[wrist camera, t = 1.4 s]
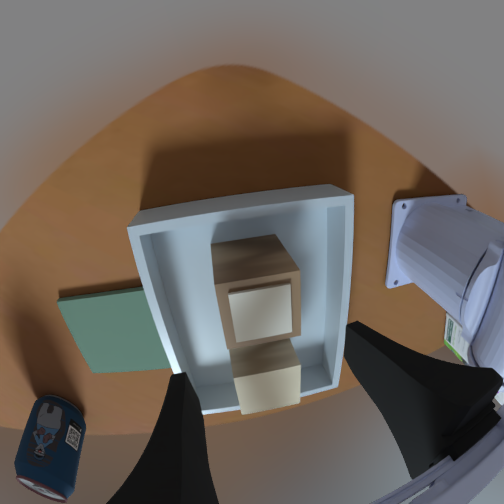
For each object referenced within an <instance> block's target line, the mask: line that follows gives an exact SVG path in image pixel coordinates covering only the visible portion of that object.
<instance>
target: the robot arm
mask: <svg viewBox="0 0 504 504" xmlns="http://www.w3.org/2000/svg"><path fill="white" fill-rule="evenodd" d="M456 200H457V201H456ZM466 202H467V197H466V196H465V195H463V194H456V195H443V196H431V197H419V198H408V199H398V200H395V201H394V203H393V207H392V224H391V237H390V248H389V257H388V266H387V274H386V282H385V285H386V286H387V287H388V288H394V287H397V286H401V285H405V284H408V283H412V282H414V283H415V284H416V285H417V286H419V287H420V288H421V289H422V290H423V291H424V292H426V293H427V294H428V295H429V296H430V297H431V298H432V299H434V300H435V301H436V302H437V303H438V304H439V305H440V306H442V307H443V308H444V309H445V310H446V311H447V312H448V313H449V314H450V315H451V316H453V317H454V318H455V319H456V320H457V321H458V322H459V323H460V324H461V325H462V326H463V330H462V333H461V336H462V337H463V338H464V339H465V340H466V341H467V342H468V343H469V347H468V351H467V358H468V363H469V366H465V365H459V364H454V363H450V362H446V361H441V360H438V359H435V358H432V357H429V356H426V355H423V354H421V353H418V352H416V351H414V350H411V349H409V348H407V347H405V346H403V345H400V344H398V343H396V342H395V341H393V340H391V339H389V338H387V337H385V336H383V335H382V334H380V333H378V332H376V331H374V330H373V329H371V328H369V327H368V326H366V325H364V324H362V323H360V322H359V321H355V322H353V323H350V324H347V325H346V330H345V348H344V357H345V359H346V361H347V363H348V365H349V367H350V369H351V370H352V372H353V374H354V375H355V377H356V378H357V380H358V381H359V382H360V384H361V385H362V386H363V388H364V389H365V391H366V392H367V393H368V395H369V396H370V397H371V399H372V400H373V402H374V403H375V404H376V406H377V407H378V409H379V410H380V412H381V413H382V415H383V417H384V419H385V420H386V422H387V424H388V426H389V428H390V430H391V432H392V434H393V436H394V438H395V440H396V442H397V444H398V446H399V448H400V451H401V453H402V455H403V458H404V460H405V463H406V466H407V468H408V471H409V474H410V477H411V478H412V481H410V482H408V483H407V484H405V485H403V486H402V487H400V488H398V489H396V490H395V491H393V492H391V493H389V494H387V495H385V496H383V497H382V498H380V499H378V500H376V501H374V502H372V503H370V504H399V503H401V502H403V501H405V500H406V499H408V498H410V497H411V496H413V495H415V494H416V493H418V492H419V491H421V490H423V489H424V488H426V487H427V486H429V485H430V484H431V485H430V487H429V489H428V490H426V491H425V492H423V493H422V494H420V495H419V496H417V497H416V498H414V499H413V500H412V501H411V502H410V503H409V504H468V503H469V502H470V501H471V500H472V499H473V498H474V497H475V496H476V495H477V494H479V493H480V492H481V491H482V490H483V489H484V488H485V487H486V486H487V485H488V484H489V483H490V482H491V481H492V480H493V479H494V478H495V477H496V476H497V474H498V473H499V472H500V471H501V470H502V469H503V468H504V404H503V405H502V406H501V407H500V408H499V409H498V411H497V412H496V411H495V410H494V409H493V408H494V407H495V404H494V403H493V402H492V400H493V399H494V397H495V396H496V394H497V393H498V391H499V392H504V223H503V222H500V221H498V220H497V219H494V218H492V217H490V216H488V215H486V214H484V213H482V212H479V211H477V210H475V209H473V208H470V207H468V206H466ZM403 203H404V206H403V208H402V205H403ZM394 282H395V283H394ZM106 504H219V503H218V499H217V495H216V492H215V488H214V485H213V481H212V477H211V473H210V469H209V463H208V455H207V446H206V438H205V428H204V419H203V414H202V410H201V405H200V400H199V398H198V396H197V394H196V392H195V390H194V388H193V386H192V384H191V382H190V380H189V378H188V376H187V373H186V372H182V373H177V374H172V375H171V377H170V381H169V385H168V389H167V393H166V396H165V400H164V403H163V406H162V409H161V412H160V415H159V418H158V420H157V423H156V425H155V428H154V430H153V433H152V435H151V438H150V440H149V442H148V444H147V446H146V448H145V450H144V452H143V454H142V456H141V458H140V459H139V461H138V463H137V464H136V466H135V467H134V469H133V471H132V472H131V474H130V475H129V476H128V478H127V479H126V481H125V482H124V483H123V485H122V486H121V487H120V489H119V490H118V491H117V492H116V493H115V494H114V496H113V497H112V498H111V499H110V500H109V501H108V502H107V503H106Z"/></svg>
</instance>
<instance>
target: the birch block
mask: <svg viewBox="0 0 504 504" xmlns="http://www.w3.org/2000/svg"><path fill="white" fill-rule="evenodd" d="M229 354H230V360H231V366H232V372H233V378H234V383H235V387H236V392H237V396H238V400H239V404H240V409H241V413H242V415H243V414H249V413H254V412H260V411H265V410H270V409H275V408H280V407H284V406H289V405H293V404H297V403H300V384H301V364H300V362H299V359H298V357H297V355H296V352H295V350H294V347H293V345H292V343H291V340H290V338H287V339H282V340H277V341H272V342H267V343H262V344H257V345H251V346H245V347H240V348H234V349H229Z"/></svg>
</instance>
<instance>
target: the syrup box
mask: <svg viewBox="0 0 504 504" xmlns="http://www.w3.org/2000/svg"><path fill="white" fill-rule="evenodd" d="M462 330H463V326H462V325H461V324H460V323H459V322H458V321H457V320H456V319H455V318H454V317H453V316H451V315H450V314H449V313H448V312H447V313H446V326H445V336H444V344H445V345H446V346H447V347H448V348H449V349H451V351H452V352H453V353H454V354H455V355H456V356H457V357H458V358H459V359H460V360H461V361H462V362H463V363H464V364H465V365H466V366H469V363H468V358H467V351H468V347H469V343H468V342H467V341H466V340H465V339H464V338H463V337H462V336H461V333H462ZM495 398H496V400H497V401H498V402H499V403H500V404H501V405H503V404H504V392H499V391H498V393H497V394H496V396H495Z"/></svg>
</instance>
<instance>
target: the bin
mask: <svg viewBox="0 0 504 504" xmlns="http://www.w3.org/2000/svg"><path fill="white" fill-rule="evenodd" d="M353 228H354V195H353V194H351V193H349V192H347V191H345V190H343V189H341V188H338V187H336V186H334V185H332V184H324V185H313V186H304V187H294V188H285V189H277V190H268V191H260V192H253V193H245V194H238V195H231V196H224V197H217V198H211V199H204V200H198V201H192V202H186V203H180V204H174V205H168V206H163V207H157V208H152V209H146V210H141V211H139V212H138V213H137V214H136V216H135V217H134V218H133V220H132V221H131V223H130V224H129V225H128V227H127V230H128V234H129V238H130V242H131V246H132V250H133V253H134V257H135V261H136V264H137V268H138V271H139V275H140V278H141V282H142V285H143V288H144V291H145V295H146V298H147V301H148V304H149V307H150V310H151V313H152V316H153V319H154V322H155V325H156V328H157V330H158V333H159V336H160V339H161V341H162V344H163V347H164V349H165V352H166V355H167V357H168V360H169V362H170V365H171V367H172V370H173V372H174V374H177V373H182V372H186V373H187V376H188V378H189V380H190V382H191V384H192V386H193V388H194V390H195V392H196V394H197V396H198V398H199V400H200V405H201V410H202V414H211V413H219V412H226V411H232V410H239V409H240V404H239V400H238V396H237V392H236V387H235V383H234V378H233V372H232V366H231V360H230V354H229V349H228V350H227V346H226V342H225V337H224V332H223V327H222V322H221V317H220V312H219V307H218V302H217V297H216V292H215V286H214V277H213V267H212V256H211V245H210V244H213V243H219V242H225V241H232V240H238V239H245V238H251V237H258V236H264V235H271V234H276V236H277V237H278V239H279V240H280V241H281V243H282V244H283V246H284V247H285V249H286V250H287V252H288V253H289V254H290V256H291V257H292V259H293V260H294V262H295V263H296V265H297V266H298V268H299V269H300V278H301V336H296V337H292V338H290V340H291V343H292V345H293V347H294V350H295V352H296V355H297V357H298V359H299V362H300V364H301V384H300V397H302V396H306V395H310V394H314V393H318V392H322V391H325V390H329V389H332V388H336V387H338V383H339V377H340V371H341V364H342V358H343V350H344V343H345V330H346V325H347V317H348V308H349V297H350V285H351V271H352V253H353Z"/></svg>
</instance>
